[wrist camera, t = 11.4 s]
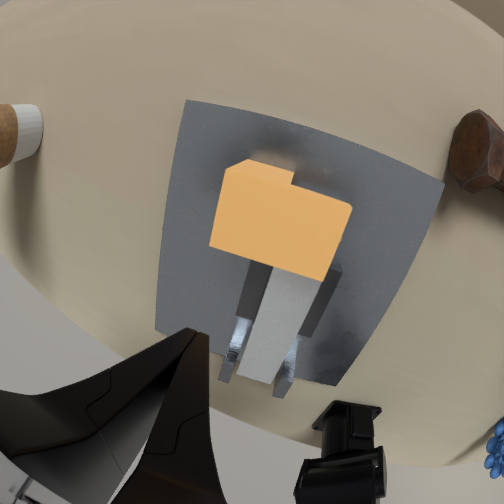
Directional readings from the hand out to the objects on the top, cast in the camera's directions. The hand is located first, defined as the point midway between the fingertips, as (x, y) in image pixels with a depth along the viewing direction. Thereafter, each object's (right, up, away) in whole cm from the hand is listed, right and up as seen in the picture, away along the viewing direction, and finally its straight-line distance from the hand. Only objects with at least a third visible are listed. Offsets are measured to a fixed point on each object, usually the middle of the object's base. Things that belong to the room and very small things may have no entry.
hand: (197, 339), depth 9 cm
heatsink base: (+4, +2, +12) cm, 13 cm away
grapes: (+47, -27, +16) cm, 56 cm away
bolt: (+23, +9, +5) cm, 25 cm away
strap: (+4, -1, +10) cm, 11 cm away
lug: (+4, +6, +8) cm, 11 cm away
